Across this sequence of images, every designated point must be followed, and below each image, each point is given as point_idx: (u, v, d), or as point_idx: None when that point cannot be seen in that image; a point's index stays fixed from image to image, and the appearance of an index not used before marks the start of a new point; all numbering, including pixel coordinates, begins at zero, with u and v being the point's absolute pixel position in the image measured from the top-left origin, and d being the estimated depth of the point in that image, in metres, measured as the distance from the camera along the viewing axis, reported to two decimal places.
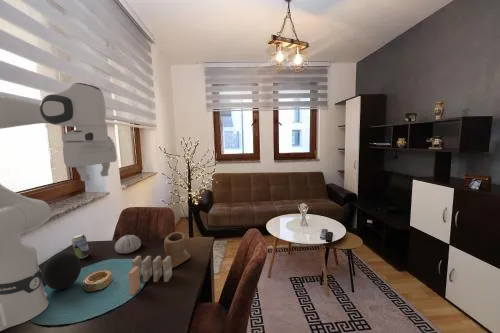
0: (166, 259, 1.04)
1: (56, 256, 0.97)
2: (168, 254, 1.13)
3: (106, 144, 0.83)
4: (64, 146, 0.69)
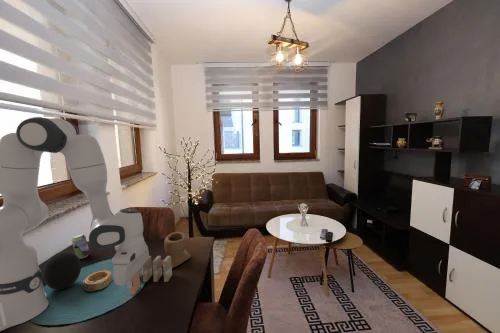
0: (166, 259, 1.04)
1: (56, 256, 0.97)
2: (168, 254, 1.13)
3: None
4: (114, 269, 0.87)
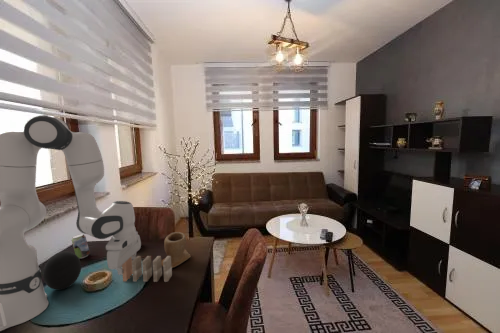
0: (166, 259, 1.04)
1: (56, 256, 0.97)
2: (168, 254, 1.13)
3: None
4: (108, 254, 0.96)
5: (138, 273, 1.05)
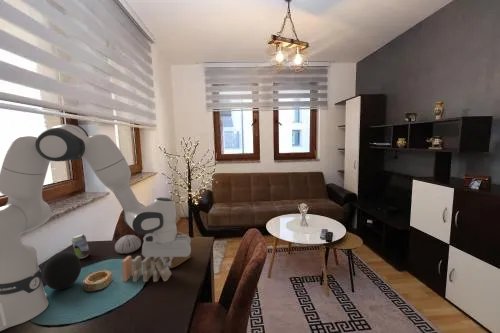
0: (158, 260, 1.04)
1: (56, 256, 0.97)
2: None
3: (175, 243, 1.02)
4: None
5: (138, 273, 1.05)
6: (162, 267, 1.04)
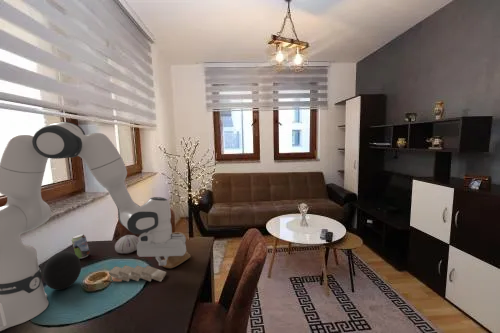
0: None
1: (56, 256, 0.97)
2: None
3: (170, 242, 1.02)
4: None
5: None
6: (150, 272, 1.04)
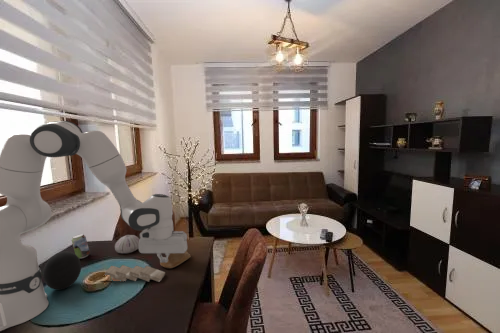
0: None
1: (56, 256, 0.97)
2: None
3: (171, 239, 1.02)
4: None
5: None
6: (149, 273, 1.04)
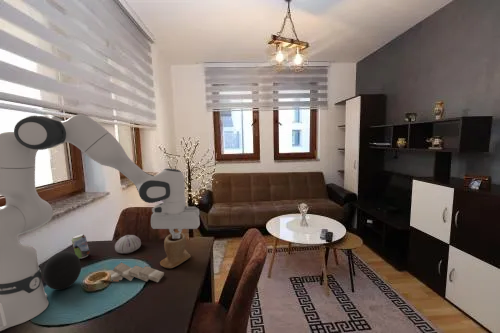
0: None
1: (56, 256, 0.97)
2: (168, 254, 1.13)
3: (184, 214, 1.01)
4: None
5: (117, 274, 1.05)
6: (147, 273, 1.04)
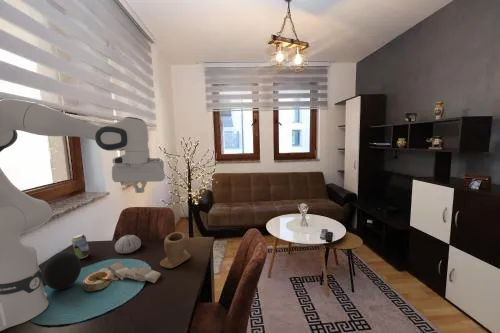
0: None
1: (56, 256, 0.97)
2: (168, 254, 1.13)
3: (147, 166, 0.95)
4: None
5: None
6: (144, 274, 1.04)
